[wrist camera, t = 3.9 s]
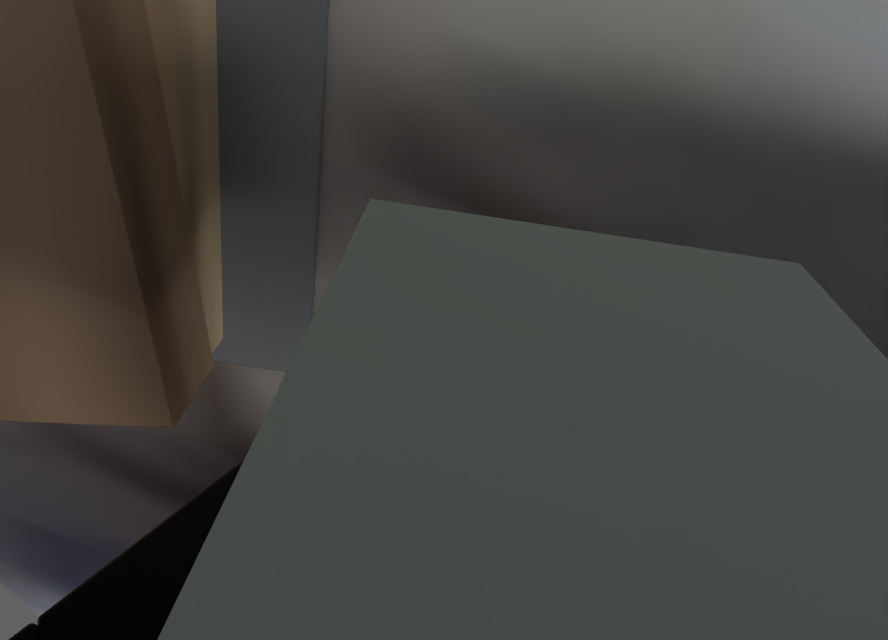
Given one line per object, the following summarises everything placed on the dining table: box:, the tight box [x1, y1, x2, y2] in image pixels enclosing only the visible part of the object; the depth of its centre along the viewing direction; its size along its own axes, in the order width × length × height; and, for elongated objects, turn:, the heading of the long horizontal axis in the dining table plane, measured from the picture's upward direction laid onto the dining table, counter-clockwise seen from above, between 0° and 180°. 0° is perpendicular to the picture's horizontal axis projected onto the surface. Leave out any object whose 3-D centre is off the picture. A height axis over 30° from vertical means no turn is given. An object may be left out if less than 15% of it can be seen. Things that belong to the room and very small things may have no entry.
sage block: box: [158, 199, 888, 640], centre depth 7 cm, size 5×5×6 cm
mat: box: [212, 0, 329, 372], centre depth 16 cm, size 14×11×1 cm
